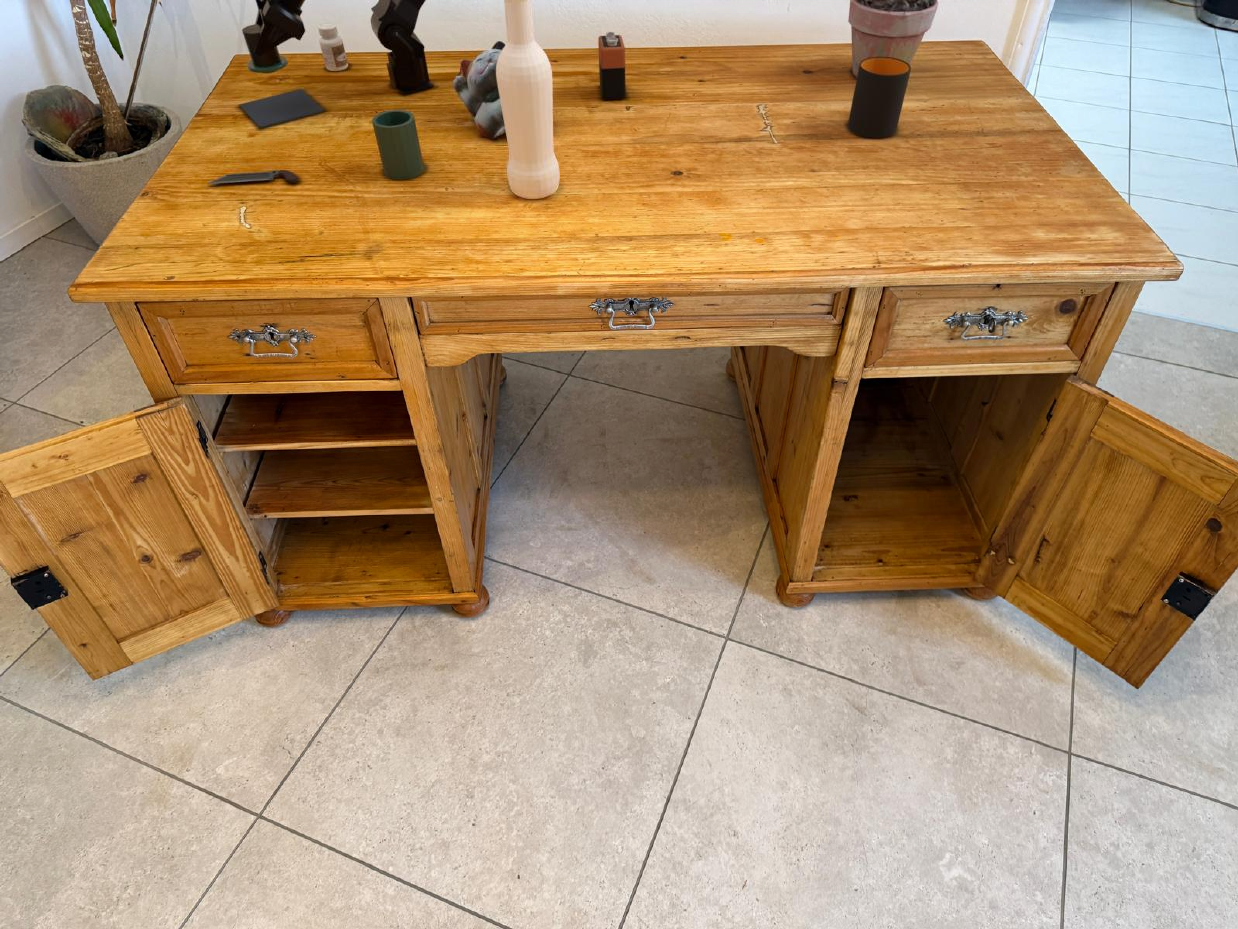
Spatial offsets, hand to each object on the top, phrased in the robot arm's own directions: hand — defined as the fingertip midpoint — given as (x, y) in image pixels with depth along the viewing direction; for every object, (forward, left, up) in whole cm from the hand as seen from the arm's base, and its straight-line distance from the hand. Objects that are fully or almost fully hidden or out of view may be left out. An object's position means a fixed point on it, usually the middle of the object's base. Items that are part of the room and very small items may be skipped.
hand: (254, 49), depth 141 cm
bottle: (-23, +54, -11) cm, 60 cm away
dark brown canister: (-1, 0, -3) cm, 3 cm away
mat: (-1, 0, -11) cm, 11 cm away
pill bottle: (-17, -13, -11) cm, 24 cm away
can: (-9, +36, -11) cm, 39 cm away
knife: (+12, +25, -11) cm, 30 cm away
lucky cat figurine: (-31, +31, -11) cm, 46 cm away
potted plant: (-100, +54, -11) cm, 115 cm away
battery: (-54, +31, -11) cm, 64 cm away
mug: (-82, +69, -11) cm, 108 cm away
